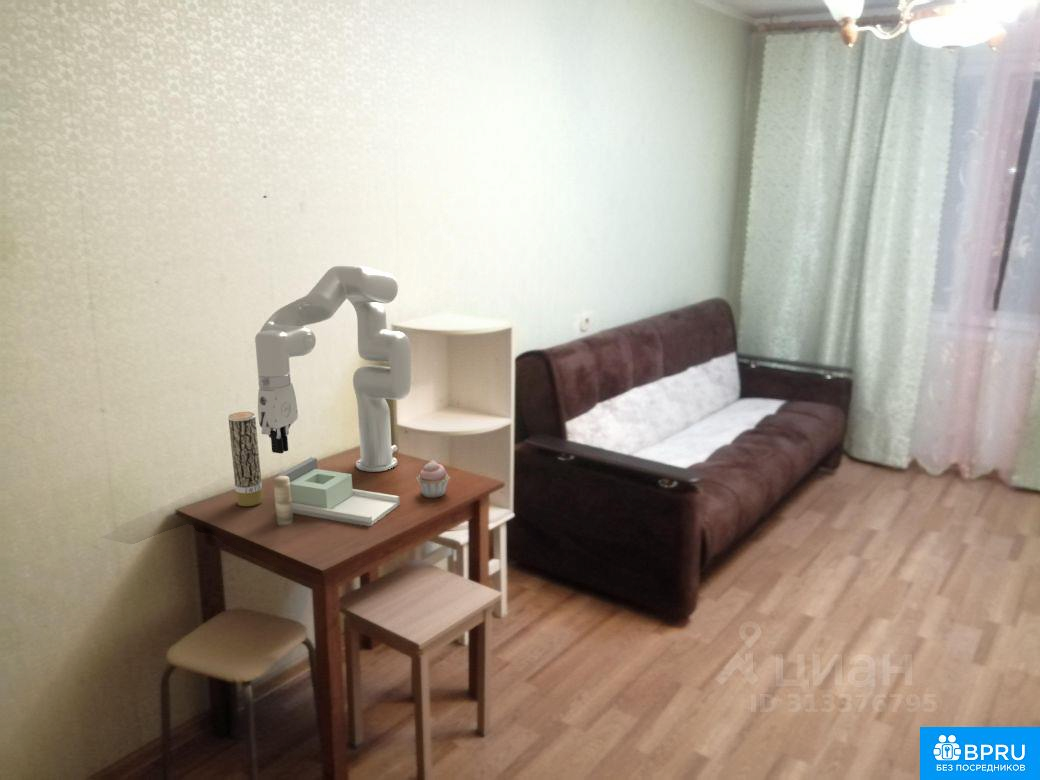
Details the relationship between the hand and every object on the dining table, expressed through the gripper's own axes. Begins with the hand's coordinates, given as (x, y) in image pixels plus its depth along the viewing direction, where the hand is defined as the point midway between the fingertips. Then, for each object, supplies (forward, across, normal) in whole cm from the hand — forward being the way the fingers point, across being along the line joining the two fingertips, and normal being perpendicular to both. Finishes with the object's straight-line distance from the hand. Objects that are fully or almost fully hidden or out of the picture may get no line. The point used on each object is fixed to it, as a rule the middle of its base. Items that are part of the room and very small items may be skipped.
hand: (280, 451), depth 198 cm
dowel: (+19, 0, 0) cm, 19 cm away
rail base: (+19, +13, -8) cm, 25 cm away
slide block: (+18, +13, -2) cm, 22 cm away
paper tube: (+20, +7, +17) cm, 27 cm away
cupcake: (+19, +31, -27) cm, 45 cm away
